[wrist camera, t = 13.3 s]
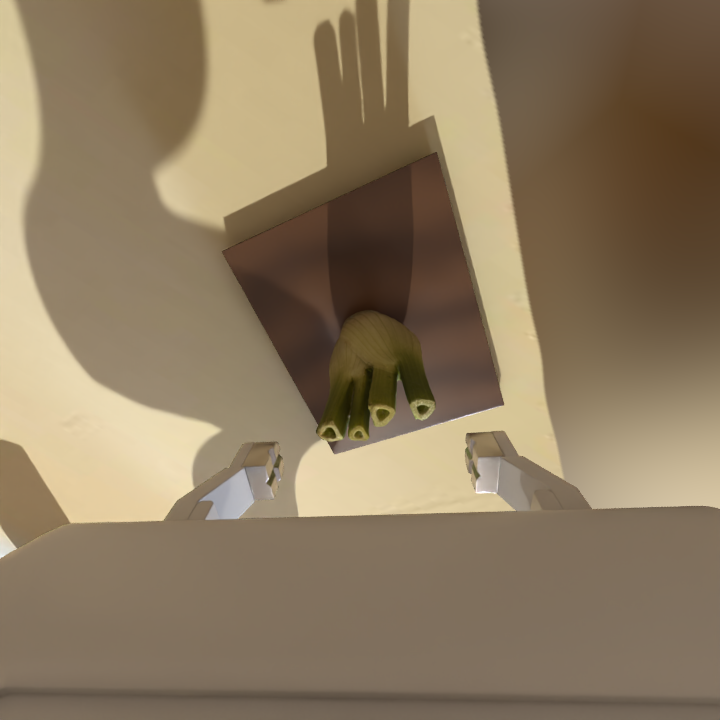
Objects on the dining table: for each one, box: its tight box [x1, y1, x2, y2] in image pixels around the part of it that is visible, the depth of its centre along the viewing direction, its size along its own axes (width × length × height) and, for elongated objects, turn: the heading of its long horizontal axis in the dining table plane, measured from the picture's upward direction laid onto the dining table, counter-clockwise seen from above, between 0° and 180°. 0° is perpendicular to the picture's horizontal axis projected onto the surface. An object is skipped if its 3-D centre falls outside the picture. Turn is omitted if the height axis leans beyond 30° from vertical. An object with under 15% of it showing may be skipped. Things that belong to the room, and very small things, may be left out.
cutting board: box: [222, 152, 504, 454], centre depth 27 cm, size 20×16×2 cm
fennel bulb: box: [316, 310, 436, 442], centre depth 21 cm, size 6×5×12 cm
